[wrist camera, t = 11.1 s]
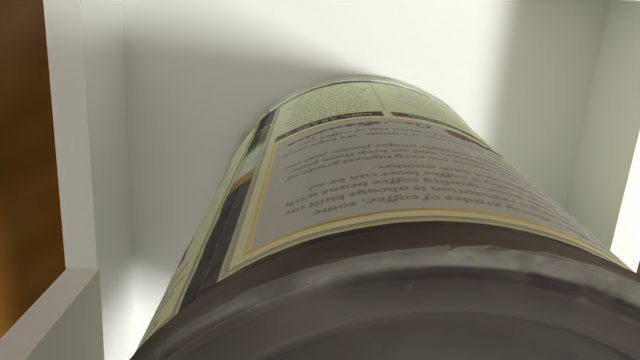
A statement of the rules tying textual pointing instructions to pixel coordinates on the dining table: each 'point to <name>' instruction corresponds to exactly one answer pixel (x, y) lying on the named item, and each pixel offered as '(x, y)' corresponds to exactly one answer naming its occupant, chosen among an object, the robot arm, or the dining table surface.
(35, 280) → the dining table surface
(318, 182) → the coffee can
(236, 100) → the bin
